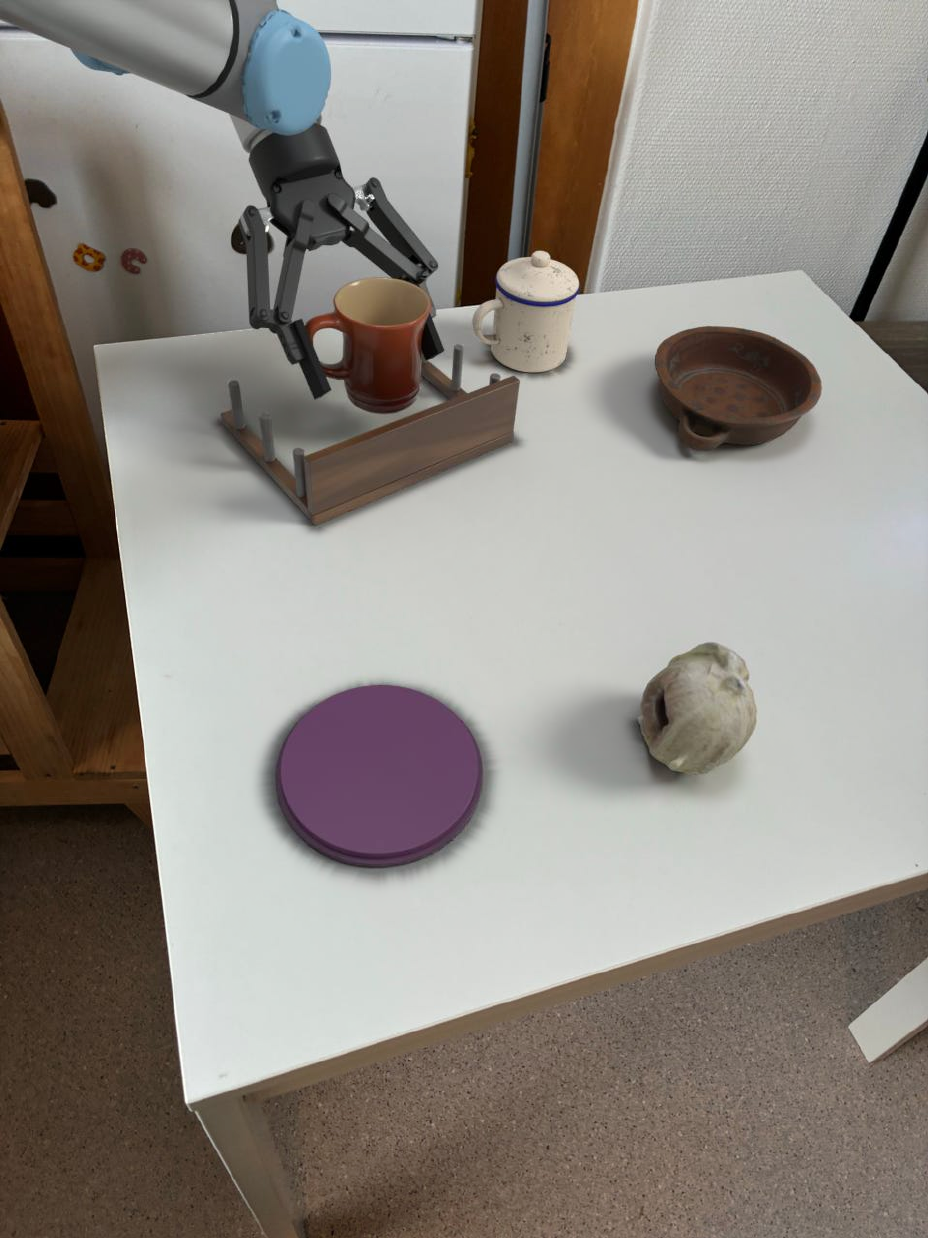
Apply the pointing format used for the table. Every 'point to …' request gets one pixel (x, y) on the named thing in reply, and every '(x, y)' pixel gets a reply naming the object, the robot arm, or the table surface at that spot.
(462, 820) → the plum lid
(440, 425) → the dish rack
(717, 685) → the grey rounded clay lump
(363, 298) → the mug
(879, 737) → the table surface
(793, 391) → the dish
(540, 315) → the teacup with lid
